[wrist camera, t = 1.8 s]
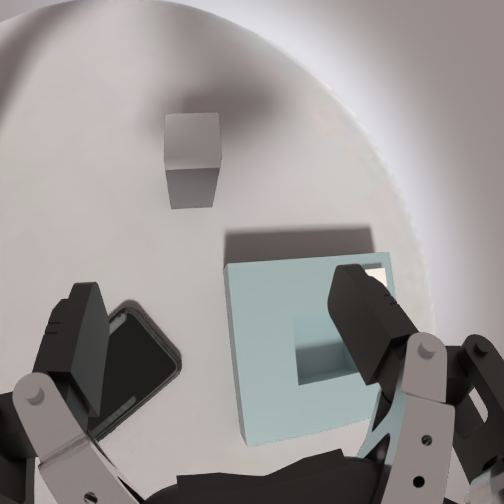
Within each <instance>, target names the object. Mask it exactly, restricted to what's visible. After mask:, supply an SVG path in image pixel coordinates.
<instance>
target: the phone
mask: <svg viewBox="0 0 504 504" xmlns="http://www.w3.org/2000/svg"><path fill="white" fill-rule="evenodd" d="M109 325H110V334H109V341H108V347H107V354H106V361H105V368H104V376H103V385H102V394H101V404H100V416H99V417H88V423H87V428H88V429H89V431H90V432H91V434H92V435H93V436H94V438H95V439H96V441H97V442H99V441H100V440H102V439H103V438H104V437H106V436H107V435H108V434H109V433H111V432H112V431H113V430H115V429H116V427H117V426H118V425H120V424H121V423H122V422H123V421H125V420H126V419H127V418H128V417H129V416H131V415H132V414H133V413H134V412H136V411H137V410H138V409H139V408H140V407H142V406H143V405H144V404H145V403H146V402H148V401H149V400H150V399H151V398H152V397H154V396H155V395H156V394H157V393H158V392H159V391H161V390H162V389H163V388H164V387H165V386H167V385H168V384H169V383H170V382H171V381H172V380H174V379H175V378H176V377H177V376H178V375H179V374H180V372H181V369H182V364H181V361H180V359H179V358H178V356H177V355H176V354H175V353H173V351H172V350H171V349H170V348H169V346H168V345H167V344H166V343H165V342H164V341H163V340H162V339H161V337H160V336H159V335H158V334H157V333H156V332H155V330H154V329H153V328H152V327H151V326H150V325H149V323H148V322H147V321H146V320H145V319H144V317H143V316H142V315H141V314H140V313H139V312H138V311H137V310H136V309H134V308H124V309H122V310H120V311H119V312H118V313H117V314H116V315H115V316H114V317H113V318H111V319H110V320H109Z"/></svg>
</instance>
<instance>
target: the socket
mask: <svg viewBox="0 0 504 504" xmlns="http://www.w3.org/2000/svg"><path fill="white" fill-rule="evenodd" d="M354 263H358V264H360V265H361V266H362V268H363V269H364V270H365V272H366V273H367V274H368V275H369V276H373V277H374V278H376V279H377V280H378V281H380V282H381V283H383V284H384V286H385V287H386V288H387V289H388V291H389V292H390V293H391V296H393V297H394V299H395V300H396V296H395V288H394V281H393V274H392V267H391V261H390V254H389V252H380V253H367V254H354V255H341V256H328V257H314V258H301V259H287V260H272V261H258V262H244V263H229V264H227V265H226V267H225V268H224V270H223V271H224V283H225V294H226V304H227V315H228V325H229V335H230V344H231V354H232V363H233V372H234V381H235V390H236V398H237V407H238V415H239V423H240V431H241V435H242V437H243V439H244V441H245V444H246V446H247V447H248V446H255V445H261V444H267V443H273V442H278V441H283V440H288V439H293V438H298V437H302V436H307V435H311V434H315V433H319V432H323V431H327V430H331V429H335V428H338V427H342V426H345V425H349V424H352V423H356V422H359V421H362V420H365V419H368V418H371V417H372V414H373V410H374V406H375V403H376V399H377V395H378V391H379V390H380V388H381V387H380V385H379V383H375V384H372V385H368V386H366V384H365V382H364V380H363V379H362V377H361V375H360V373H359V371H358V369H357V367H356V365H355V363H354V361H353V359H352V357H351V355H350V353H349V351H348V349H347V347H346V346H345V344H344V342H343V340H342V338H341V336H340V334H339V332H338V330H337V328H336V327H335V325H334V323H333V321H332V319H331V317H330V315H329V312H328V307H327V300H328V296H329V292H330V288H331V284H332V280H333V275H334V271H335V268H336V267H337V266H338V265H343V264H354Z"/></svg>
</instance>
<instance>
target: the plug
mask: <svg viewBox="0 0 504 504" xmlns="http://www.w3.org/2000/svg"><path fill="white" fill-rule="evenodd" d="M221 160H222V151H221V136H220V122H219V113H180V114H165V135H164V164H165V171H166V178H167V185H168V191H169V198H170V204H171V209H183V208H202V207H212V205H213V200H214V195H215V190H216V185H217V180H218V175H219V170H220V165H221Z"/></svg>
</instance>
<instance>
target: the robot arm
mask: <svg viewBox="0 0 504 504" xmlns="http://www.w3.org/2000/svg"><path fill="white" fill-rule="evenodd" d="M327 307H328V312H329V315H330V317H331V319H332V321H333V323H334V325H335V327H336V328H337V330H338V332H339V334H340V336H341V338H342V340H343V342H344V344H345V346H346V347H347V349H348V351H349V353H350V355H351V357H352V359H353V361H354V363H355V365H356V367H357V369H358V371H359V373H360V375H361V377H362V379H363V380H364V382H365V384H366V386H368V385H372V384H375V383H379V385H380V387H381V388H380V390H379V391H378V395H377V399H376V403H375V406H374V410H373V414H372V418H371V421H370V425H369V428H368V432H367V435H366V438H365V440H364V442H363V444H362V446H361V447H360V449H359V451H358V454H357V456H356V457H348V456H345V457H344V455H343V452H342V450H341V448H340V449H337V450H333V451H330V452H326V453H322V454H318V455H314V456H310V457H306V458H303V459H301V460H299V461H297V462H295V463H293V464H291V465H289V466H286V467H284V468H282V469H280V470H278V471H276V472H273V473H271V474H269V475H266V476H251V475H238V474H227V473H209V474H196V475H179V476H177V484H175V485H171V486H169V487H166V488H164V489H161V490H160V491H158V492H156V493H154V494H153V495H151V496H150V497H149V498H147V499H145V498H144V497H143V496H142V495H141V494H140V493H139V492H138V490H137V489H136V488H135V487H134V486H133V485H132V484H131V483H130V482H129V481H128V480H127V479H126V478H125V476H124V475H123V474H122V473H121V472H120V471H119V469H118V468H117V467H116V466H115V464H114V463H113V462H112V461H111V459H110V458H109V457H108V456H107V454H106V453H105V452H104V450H103V449H102V448H101V446H100V445H99V443H98V442H97V441H96V439H95V438H94V436H93V435H92V434H91V432H90V431H89V429H88V428H87V423H88V417H99V416H100V404H101V394H102V385H103V376H104V368H105V361H106V354H107V347H108V341H109V334H110V325H109V318H108V315H107V312H106V309H105V305H104V302H103V299H102V296H101V292H100V289H99V286H98V284H97V283H96V282H84V283H75V284H74V285H73V287H72V290H71V292H70V295H69V298H68V299H61V301H60V302H59V303H58V304H57V305H56V306H55V308H54V309H53V310H52V313H51V315H50V318H49V321H48V325H47V327H46V329H45V335H43V338H42V341H41V344H40V348H39V351H38V354H37V357H36V361H35V364H34V368H33V371H32V373H30V374H28V375H26V376H24V377H23V378H21V379H20V380H19V381H18V383H17V384H16V386H15V388H14V390H13V392H9V393H5V394H0V504H34V473H35V457H39V459H40V462H41V464H39V465H38V469H39V472H40V474H41V476H42V478H43V480H44V481H45V483H46V485H47V487H48V488H49V490H50V491H51V493H52V495H53V496H54V498H55V500H56V501H57V503H58V504H457V503H456V502H453V501H451V500H449V499H447V498H445V497H444V495H445V490H446V485H447V478H448V473H449V466H450V459H451V451H452V445H453V448H454V450H455V452H456V454H457V456H458V458H459V461H460V463H461V465H462V468H463V470H464V472H465V474H466V477H467V479H468V482H469V484H470V488H469V492H468V493H467V494H466V495H465V498H464V502H465V504H504V360H503V359H502V357H501V356H500V354H499V353H498V351H497V350H496V349H495V347H494V346H493V344H492V343H491V342H490V341H489V340H487V339H486V338H485V337H483V336H480V335H476V334H473V335H470V336H468V337H467V338H466V340H465V341H464V343H463V344H462V346H444V344H443V343H442V342H441V340H440V339H438V338H437V337H436V336H434V335H432V334H429V333H425V332H419V331H418V330H417V328H416V327H415V326H414V324H413V323H412V321H411V320H410V319H409V317H408V316H407V315H406V313H405V312H404V311H403V309H402V308H401V307H400V305H399V304H397V301H396V300H395V299H394V297H393V296H391V293H390V292H389V291H388V289H387V288H386V287H385V286H384V284H383V283H381V282H380V281H378V280H377V279H376V278H374V277H373V276H369V275H368V274H367V273H366V272H365V270H364V269H363V268H362V266H361V265H360V264H358V263H354V264H343V265H338V266H337V267H336V268H335V271H334V275H333V280H332V284H331V288H330V292H329V296H328V300H327ZM474 387H475V389H476V390H477V392H478V394H479V395H480V397H481V399H482V400H483V402H484V404H485V405H486V408H487V411H488V417H487V420H486V422H485V423H484V422H483V420H482V418H481V416H480V414H479V412H478V410H477V409H476V407H475V405H474V403H473V401H472V400H471V398H470V396H469V393H470V392H471V391H472V390H473V388H474Z"/></svg>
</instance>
